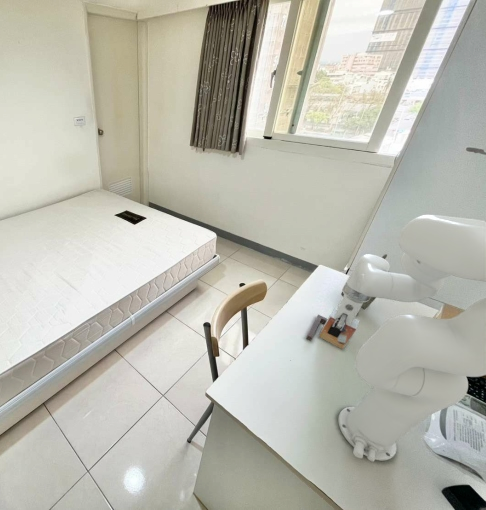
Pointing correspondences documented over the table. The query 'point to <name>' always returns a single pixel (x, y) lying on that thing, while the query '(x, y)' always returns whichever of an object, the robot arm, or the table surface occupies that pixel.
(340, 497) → the table surface
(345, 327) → the small box
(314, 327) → the corner stop
